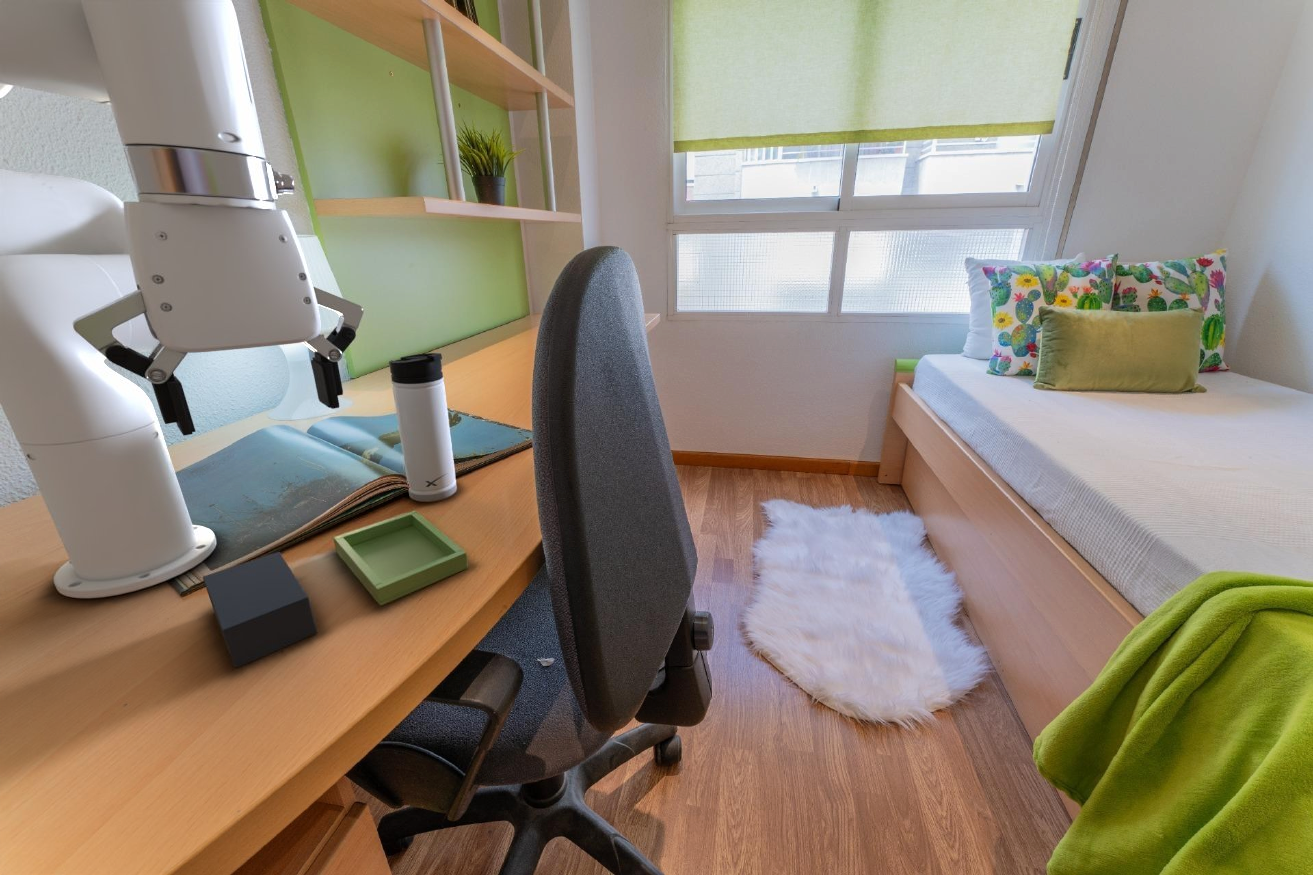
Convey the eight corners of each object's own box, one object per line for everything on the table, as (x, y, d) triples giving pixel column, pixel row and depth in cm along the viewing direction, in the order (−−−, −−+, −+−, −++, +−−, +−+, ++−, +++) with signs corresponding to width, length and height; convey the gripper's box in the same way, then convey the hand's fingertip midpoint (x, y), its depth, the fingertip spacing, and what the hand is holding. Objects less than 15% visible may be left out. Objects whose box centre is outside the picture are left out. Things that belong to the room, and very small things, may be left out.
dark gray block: (214, 611, 49) (202, 576, 48) (288, 584, 54) (279, 551, 52) (235, 668, 43) (222, 630, 42) (317, 633, 47) (308, 596, 46)
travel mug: (443, 505, 70) (423, 359, 63) (399, 499, 71) (375, 356, 64) (467, 485, 76) (452, 350, 69) (427, 480, 77) (408, 347, 70)
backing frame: (336, 552, 59) (332, 536, 59) (417, 523, 66) (415, 509, 65) (380, 606, 51) (377, 589, 50) (468, 567, 57) (466, 552, 56)
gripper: (326, 196, 45) (359, 388, 51) (18, 172, 32) (110, 429, 39) (360, 194, 40) (392, 406, 46) (14, 165, 28) (119, 458, 34)
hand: (263, 416), depth 42 cm, fingers open, 9 cm apart
